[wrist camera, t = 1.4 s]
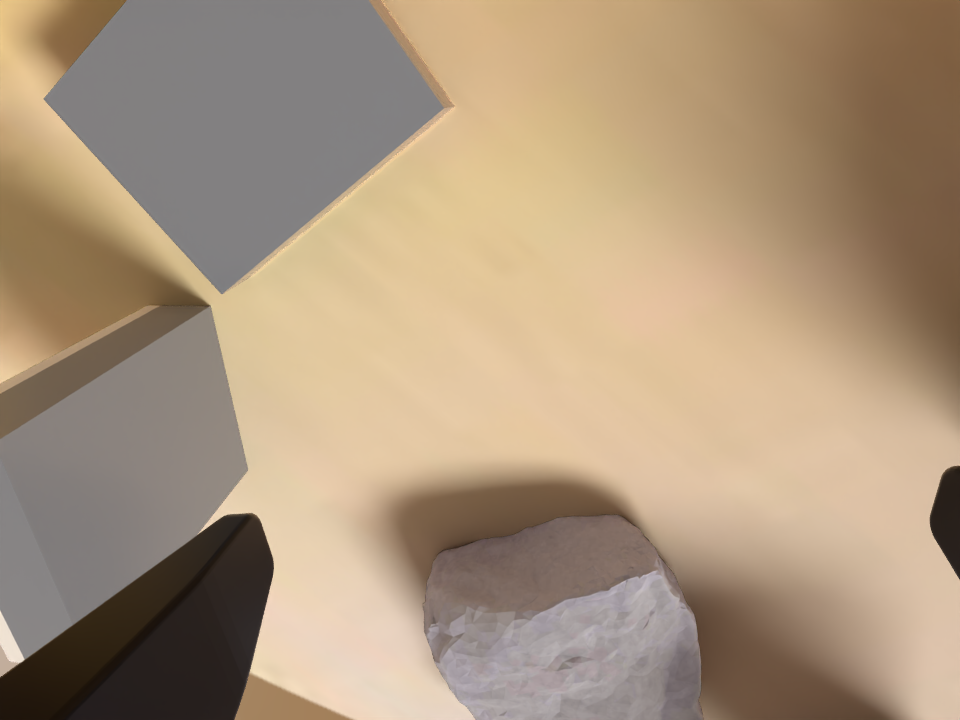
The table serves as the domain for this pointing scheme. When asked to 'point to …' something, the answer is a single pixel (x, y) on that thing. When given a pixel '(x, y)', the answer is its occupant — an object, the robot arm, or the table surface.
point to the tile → (109, 466)
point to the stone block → (564, 625)
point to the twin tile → (246, 116)
